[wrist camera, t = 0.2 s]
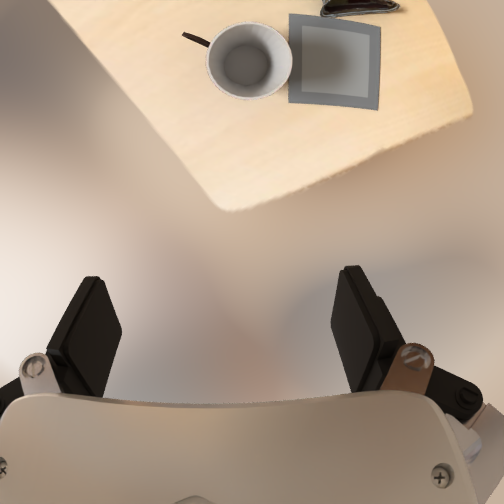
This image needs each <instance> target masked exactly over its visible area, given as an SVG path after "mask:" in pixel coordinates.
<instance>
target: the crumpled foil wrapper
mask: <svg viewBox="0 0 504 504" xmlns="http://www.w3.org/2000/svg"><path fill="white" fill-rule="evenodd" d="M322 1H323V7H322V9H321V11H320V15H321V17H322V18H332V17H334V18H335V17H337V16H340V17H341V16H347V15H358V14H365V13H386V12H391V11H394V10H397V9H399V7H400V5H399V4H397V3H395V2H394V1H391V0H322Z"/></svg>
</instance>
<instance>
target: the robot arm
mask: <svg viewBox="0 0 504 504" xmlns="http://www.w3.org/2000/svg"><path fill="white" fill-rule="evenodd" d="M331 329H332V332H333V335H334V338H335V341H336V344H337V348H338V350H339V354H340V357H341V360H342V363H343V366H344V370H345V373H346V376H347V379H348V383H349V386H350V389H351V392H352V393H349V394H340V395H333V396H325V397H315V398H305V399H295V400H284V401H271V402H253V403H229V404H228V403H223V404H190V403H161V402H160V403H159V402H144V401H130V400H119V399H109V398H102V397H103V394H104V391H105V387H106V384H107V380H108V377H109V373H110V370H111V367H112V363H113V360H114V357H115V354H116V350H117V348H118V345H119V342H120V339H121V335H122V328H121V326H120V323H119V320H118V318H117V316H116V313H115V310H114V307H113V305H112V302H111V299H110V296H109V294H108V291H107V288H106V285H105V282H104V281H103V280H101V279H100V277H98V276H94V277H93V276H92V277H91V276H88V277H85V278H84V279H83V281H82V283H81V284H80V286H79V288H78V290H77V291H76V293H75V295H74V297H73V298H72V300H71V302H70V304H69V306H68V307H67V309H66V311H65V313H64V315H63V317H62V318H61V320H60V322H59V324H58V326H57V328H56V330H55V332H54V334H53V336H52V338H51V340H50V342H49V344H48V346H47V348H46V349H47V352H46V354H43V353H34V354H31V355H29V356H27V357H26V358H25V359H24V360H23V361H22V363H21V365H20V367H19V376H20V377H18V378H16V379H15V380H13V381H11V382H10V383H8V384H6V385H5V386H3V387H1V388H0V504H485V503H486V501H487V500H488V498H489V497H490V495H491V494H492V493H493V491H494V489H495V488H496V487H497V485H498V484H499V482H500V480H501V479H502V477H503V476H504V415H502V414H501V413H500V412H499V411H498V410H497V409H496V408H494V407H493V406H492V405H491V404H490V403H488V404H487V405H485V404H484V403H483V397H482V393H481V391H480V389H479V388H478V387H477V386H476V385H474V384H473V383H471V382H469V381H466V380H464V379H462V378H460V377H458V376H456V375H454V374H451V373H449V372H447V371H445V370H443V369H441V368H439V367H436V366H434V361H435V360H434V357H433V354H432V353H431V351H430V350H429V349H428V348H426V347H425V346H423V345H421V344H417V343H408V344H406V343H405V341H404V339H403V337H402V335H401V333H400V331H399V329H398V327H397V325H396V323H395V321H394V320H393V318H392V316H391V314H390V312H389V310H388V308H387V306H386V305H385V303H384V301H383V299H382V298H381V297H379V296H376V293H375V292H374V290H373V288H372V286H371V284H370V282H369V281H368V279H367V277H366V275H365V274H364V272H363V270H362V268H361V267H360V266H359V265H355V266H345V268H344V270H341V271H340V273H339V279H338V285H337V290H336V296H335V301H334V306H333V312H332V317H331Z"/></svg>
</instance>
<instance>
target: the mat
mask: <svg viewBox="0 0 504 504" xmlns="http://www.w3.org/2000/svg"><path fill="white" fill-rule="evenodd" d="M289 47H290V49H291V53H292V69H291V73H290V75H289V103H303V104H320V105H333V106H344V107H354V108H363V109H371V110H378V95H379V75H380V27H378V26H373V25H369V24H364V23H358V22H353V21H347V20H341V19H335V18H322V17H320V16H311V15H300V14H289Z"/></svg>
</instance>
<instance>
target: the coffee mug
mask: <svg viewBox="0 0 504 504" xmlns="http://www.w3.org/2000/svg"><path fill="white" fill-rule="evenodd" d="M182 36H184V37H186V38H188V39H190V40H192V41H194V42H197V43H199V44H201V45H203V46H205V47H207V48H208V49H207V54H206V68H207V72H208V75H209V77H210V79H211V81H212V82H213V83H214V85H215V86H216V87H217V88H218V89H219V90H221V91H222V92H223V93H225V94H227V95H228V96H231V97H234V98H236V99H242V100H256V99H262V98H264V97H267V96H270V95H271V94H273V93H275V92H276V91H278V90H279V89H280V88H281V87H282V86H283V85H284V83H285V82H286V81H287V79H288V77H289V75H290V73H291V69H292V53H291V49H290V47H289V45H288V43H287V41H286V40H285V38H284V37H283V36H282V35H281V34H280V33H279V32H278V31H277V30H275V29H273V28H272V27H270V26H268V25H265V24H262V23H257V22H241V23H236V24H233V25H230V26H228V27H226V28H225V29H223V30H222V31H220V32H219V33H218V34H217V35H216V36H215V37H214V39H213V40H212V41H211V43H210V42H208V41H206V40H204V39H202V38H200V37H198V36H195V35H192V34H189V33H185V32H184V33H183V34H182Z"/></svg>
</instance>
